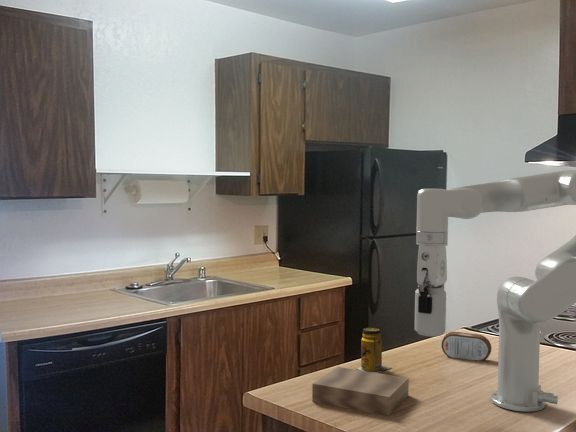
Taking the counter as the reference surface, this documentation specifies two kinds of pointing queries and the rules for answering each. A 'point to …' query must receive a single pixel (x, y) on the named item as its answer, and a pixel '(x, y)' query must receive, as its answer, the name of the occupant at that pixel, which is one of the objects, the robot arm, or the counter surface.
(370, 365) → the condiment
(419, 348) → the counter surface
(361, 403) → the chopping block
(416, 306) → the can
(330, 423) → the counter surface
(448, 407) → the counter surface
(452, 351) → the tin
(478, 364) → the counter surface
